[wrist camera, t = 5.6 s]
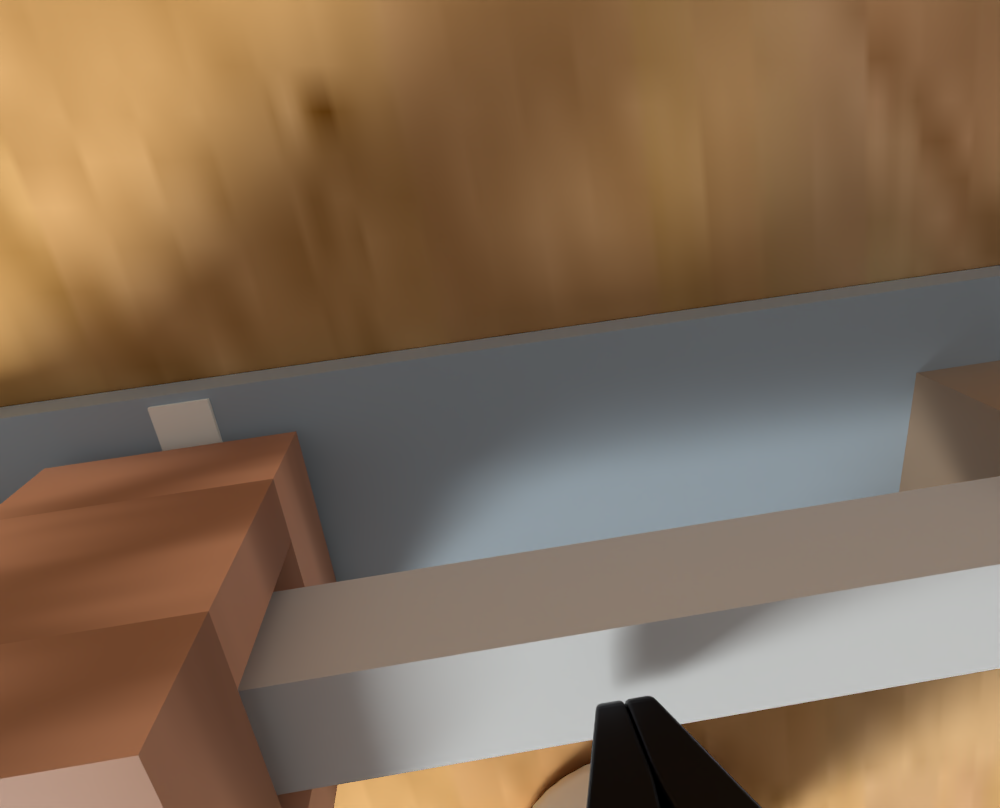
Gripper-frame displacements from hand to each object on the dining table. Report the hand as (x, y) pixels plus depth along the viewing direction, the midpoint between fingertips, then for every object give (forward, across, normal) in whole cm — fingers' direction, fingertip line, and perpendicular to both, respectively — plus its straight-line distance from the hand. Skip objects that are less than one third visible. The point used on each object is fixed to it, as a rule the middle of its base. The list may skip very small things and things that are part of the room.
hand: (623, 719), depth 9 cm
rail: (+7, +2, 0) cm, 7 cm away
